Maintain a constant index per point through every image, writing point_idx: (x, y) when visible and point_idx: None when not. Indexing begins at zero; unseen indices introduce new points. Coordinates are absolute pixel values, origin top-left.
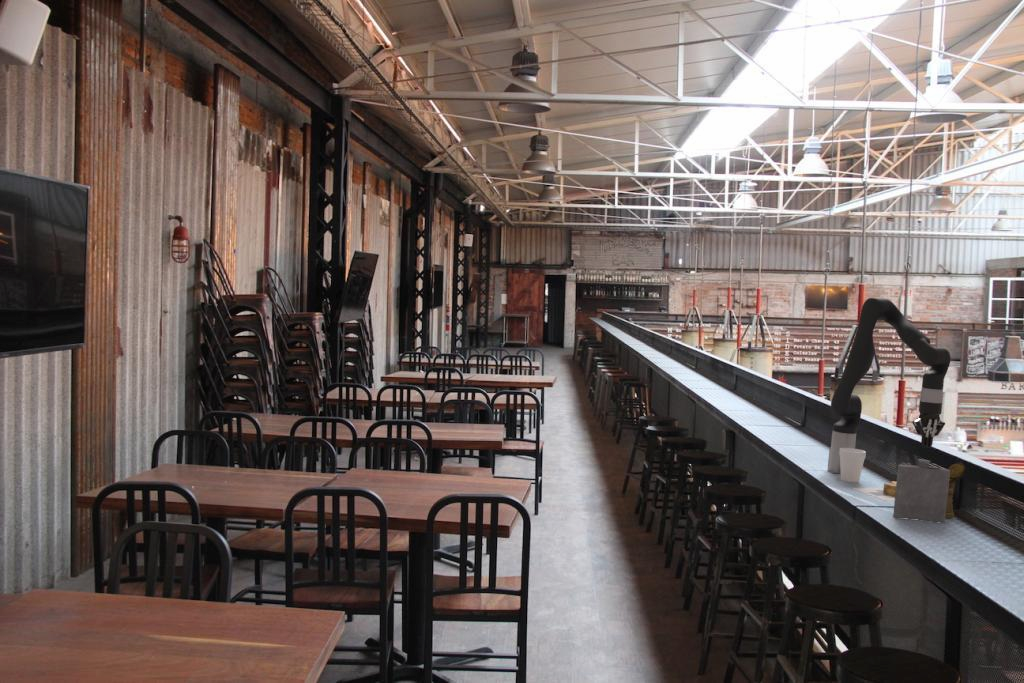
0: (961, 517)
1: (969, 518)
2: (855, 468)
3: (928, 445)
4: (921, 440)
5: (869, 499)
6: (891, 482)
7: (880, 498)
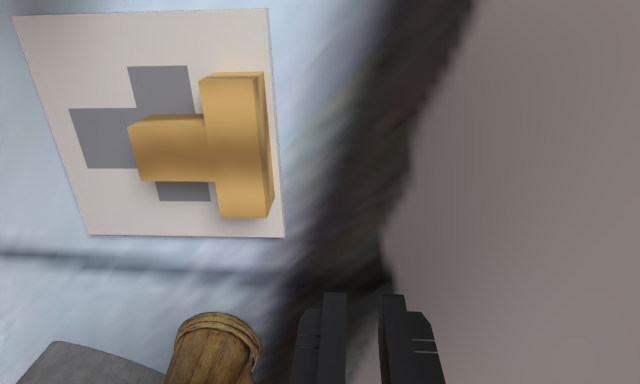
0: (280, 364)
1: None
2: None
3: (378, 335)
4: (294, 353)
5: (55, 174)
6: (200, 88)
7: (83, 205)
